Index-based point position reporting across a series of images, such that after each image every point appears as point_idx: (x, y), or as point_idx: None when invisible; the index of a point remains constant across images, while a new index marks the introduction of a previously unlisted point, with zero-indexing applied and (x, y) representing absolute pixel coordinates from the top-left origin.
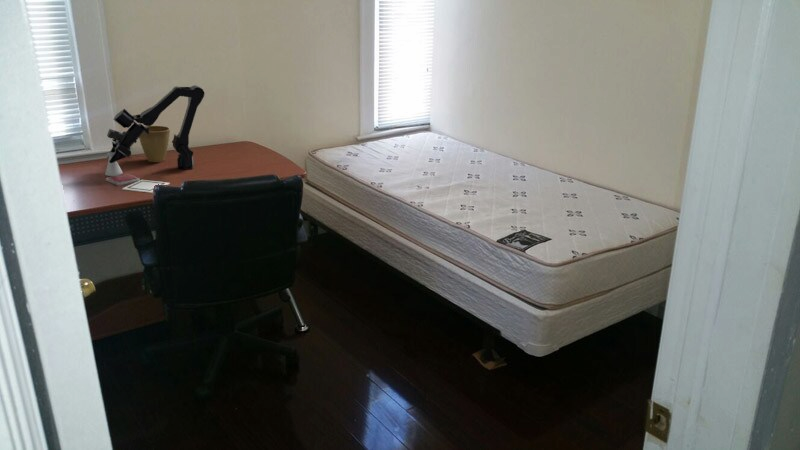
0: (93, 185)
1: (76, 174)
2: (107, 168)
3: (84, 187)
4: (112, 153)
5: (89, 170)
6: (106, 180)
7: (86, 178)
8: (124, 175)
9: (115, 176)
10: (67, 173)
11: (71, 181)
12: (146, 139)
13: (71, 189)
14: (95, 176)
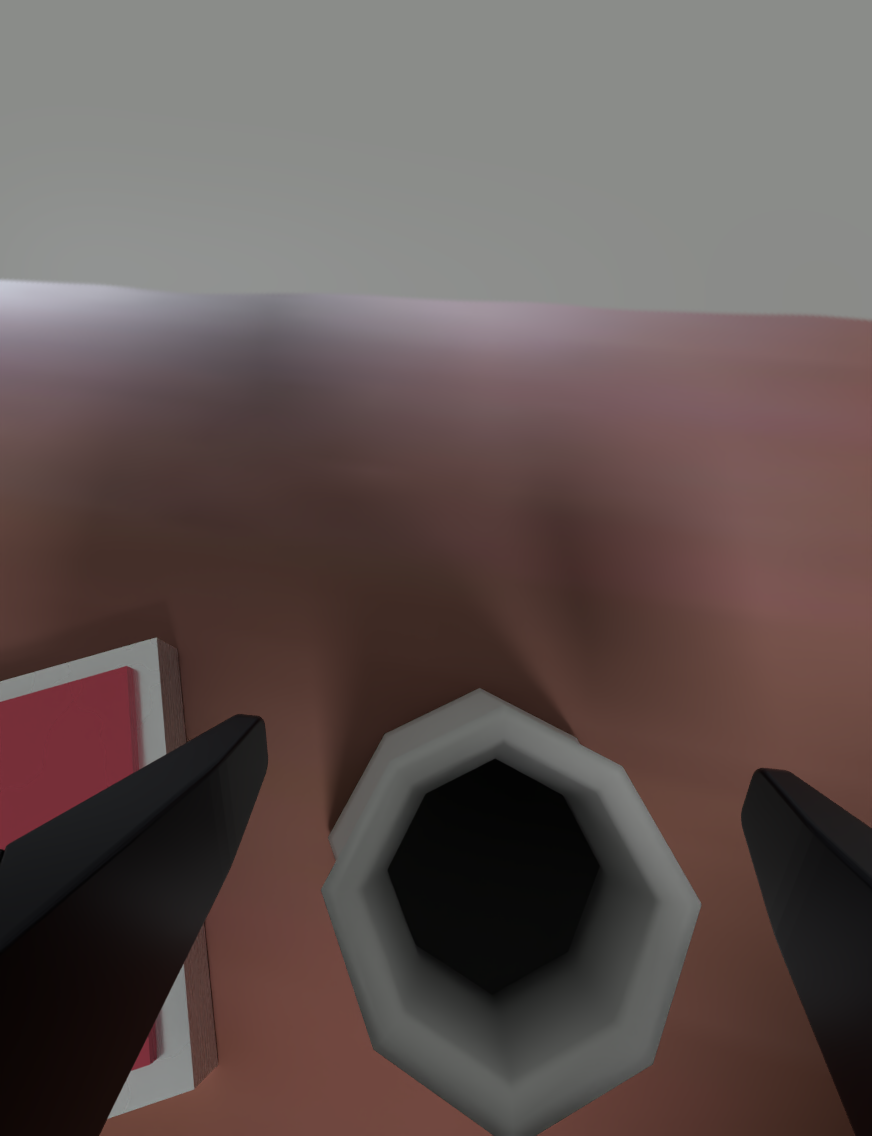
0: (85, 478)
1: (675, 386)
2: (462, 720)
3: (78, 392)
4: (622, 968)
5: (851, 542)
6: (169, 648)
7: (435, 455)
8: None
9: None
10: (755, 317)
11: (388, 319)
12: None
13: (99, 294)
14: (482, 561)
